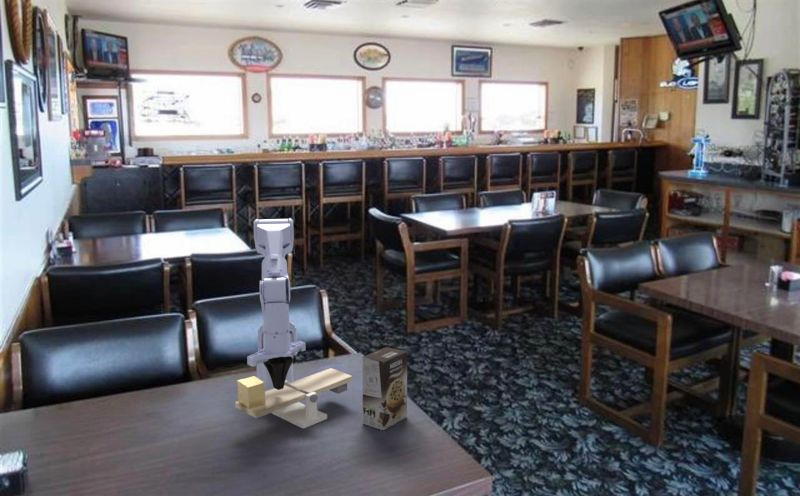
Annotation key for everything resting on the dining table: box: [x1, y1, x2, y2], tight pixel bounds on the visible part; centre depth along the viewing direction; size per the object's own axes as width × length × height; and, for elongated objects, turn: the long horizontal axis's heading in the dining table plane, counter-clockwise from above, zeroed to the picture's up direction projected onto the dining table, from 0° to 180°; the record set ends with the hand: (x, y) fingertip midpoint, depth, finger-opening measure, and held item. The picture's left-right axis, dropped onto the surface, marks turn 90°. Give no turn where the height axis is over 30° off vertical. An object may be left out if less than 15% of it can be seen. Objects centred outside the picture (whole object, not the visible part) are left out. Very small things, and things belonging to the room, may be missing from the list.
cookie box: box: [362, 346, 408, 431], centre depth 149 cm, size 9×6×16 cm
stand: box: [270, 380, 328, 429], centre depth 152 cm, size 13×7×7 cm, turn 47°
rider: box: [236, 375, 266, 409], centre depth 143 cm, size 5×5×4 cm
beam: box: [234, 367, 354, 419], centre depth 152 cm, size 8×28×4 cm, turn 137°
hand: (278, 388), depth 148 cm, fingers closed
